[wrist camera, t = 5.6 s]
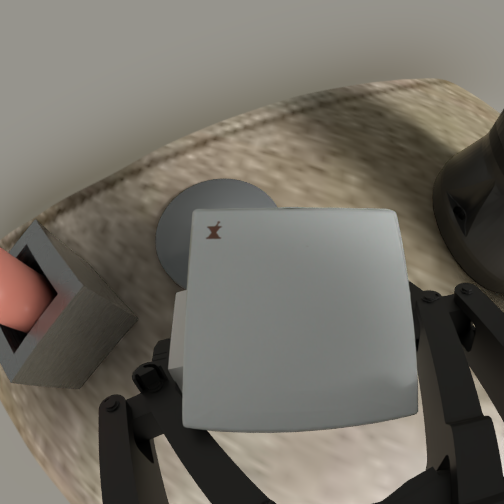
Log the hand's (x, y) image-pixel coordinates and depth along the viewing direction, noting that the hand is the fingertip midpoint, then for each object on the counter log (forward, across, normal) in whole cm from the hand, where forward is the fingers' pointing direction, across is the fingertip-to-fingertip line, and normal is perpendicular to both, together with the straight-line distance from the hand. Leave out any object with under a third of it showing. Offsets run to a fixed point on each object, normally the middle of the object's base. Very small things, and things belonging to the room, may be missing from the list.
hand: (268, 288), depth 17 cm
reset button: (+1, -15, +2) cm, 15 cm away
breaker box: (+5, -15, -2) cm, 16 cm away
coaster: (+8, -2, +2) cm, 8 cm away
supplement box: (+1, 0, -6) cm, 6 cm away
